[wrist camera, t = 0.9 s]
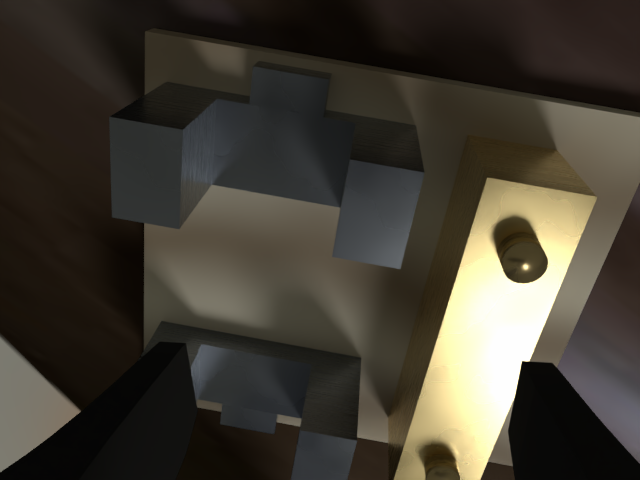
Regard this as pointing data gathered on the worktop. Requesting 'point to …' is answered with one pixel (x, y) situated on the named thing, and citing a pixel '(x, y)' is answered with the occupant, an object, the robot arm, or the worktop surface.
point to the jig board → (321, 220)
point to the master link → (483, 305)
